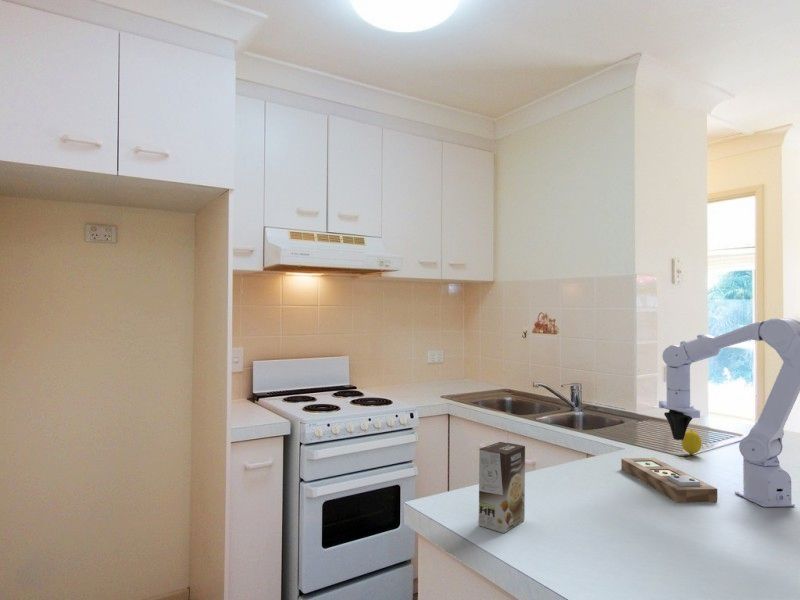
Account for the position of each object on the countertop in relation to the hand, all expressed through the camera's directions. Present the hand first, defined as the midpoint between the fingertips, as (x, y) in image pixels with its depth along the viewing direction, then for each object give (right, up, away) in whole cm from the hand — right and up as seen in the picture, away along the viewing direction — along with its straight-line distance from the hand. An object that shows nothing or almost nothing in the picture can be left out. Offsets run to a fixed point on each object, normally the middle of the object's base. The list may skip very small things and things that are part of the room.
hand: (678, 439), depth 141 cm
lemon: (+16, -11, +23) cm, 30 cm away
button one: (-7, -10, +3) cm, 13 cm away
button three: (-6, -10, -5) cm, 13 cm away
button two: (-6, -9, -13) cm, 17 cm away
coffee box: (-54, -10, -31) cm, 64 cm away
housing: (-6, -10, -5) cm, 13 cm away
